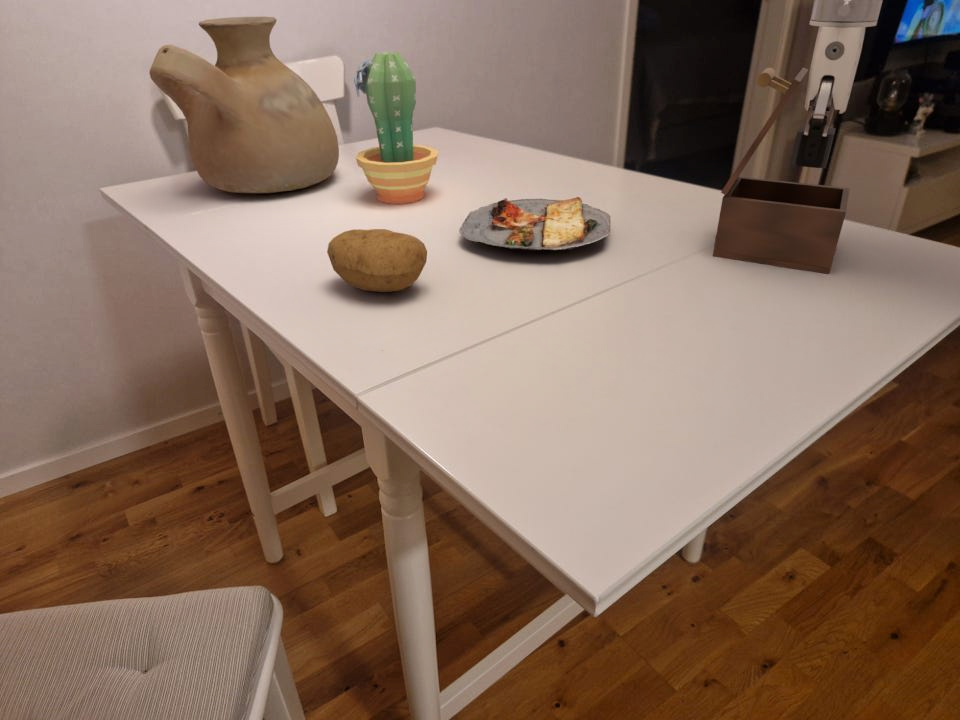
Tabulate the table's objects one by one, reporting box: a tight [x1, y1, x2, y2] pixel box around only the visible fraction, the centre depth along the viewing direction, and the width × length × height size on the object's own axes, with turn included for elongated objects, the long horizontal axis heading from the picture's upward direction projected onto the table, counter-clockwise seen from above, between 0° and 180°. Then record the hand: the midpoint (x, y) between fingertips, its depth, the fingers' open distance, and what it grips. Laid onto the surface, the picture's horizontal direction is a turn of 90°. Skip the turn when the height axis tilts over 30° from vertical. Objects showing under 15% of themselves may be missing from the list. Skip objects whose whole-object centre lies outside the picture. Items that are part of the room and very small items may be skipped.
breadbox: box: [712, 176, 851, 275], centre depth 96 cm, size 16×12×9 cm
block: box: [789, 125, 836, 169], centre depth 89 cm, size 4×4×4 cm
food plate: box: [458, 196, 612, 251], centre depth 105 cm, size 25×23×4 cm
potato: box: [326, 228, 428, 293], centre depth 87 cm, size 10×14×8 cm
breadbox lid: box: [720, 67, 809, 196], centre depth 92 cm, size 16×12×5 cm
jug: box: [148, 16, 340, 194], centre depth 126 cm, size 29×34×30 cm
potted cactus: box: [353, 51, 439, 205], centre depth 119 cm, size 15×15×25 cm
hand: (810, 160), depth 90 cm, fingers closed on block, 4 cm apart
